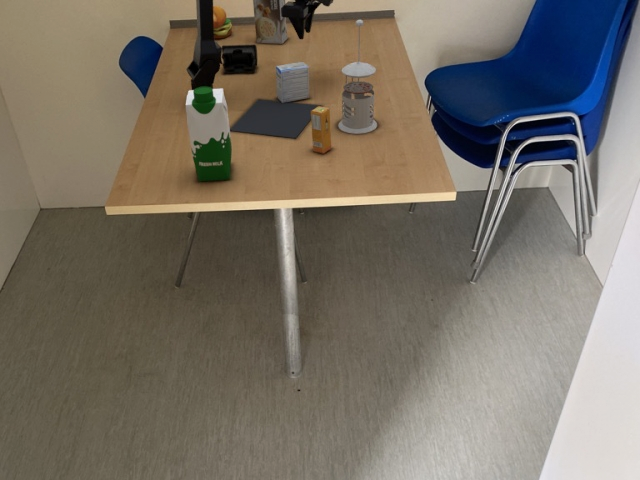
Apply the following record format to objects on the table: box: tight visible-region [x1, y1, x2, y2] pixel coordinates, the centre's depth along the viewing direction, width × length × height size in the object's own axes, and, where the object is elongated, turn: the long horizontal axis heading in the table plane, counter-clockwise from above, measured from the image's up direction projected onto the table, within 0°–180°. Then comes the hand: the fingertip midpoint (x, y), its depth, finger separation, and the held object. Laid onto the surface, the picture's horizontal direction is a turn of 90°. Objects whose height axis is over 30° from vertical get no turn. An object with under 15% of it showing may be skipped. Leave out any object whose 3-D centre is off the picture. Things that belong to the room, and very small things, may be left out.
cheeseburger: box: [213, 5, 233, 39], centre depth 225 cm, size 10×11×10 cm
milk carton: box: [185, 87, 233, 182], centre depth 148 cm, size 9×9×20 cm
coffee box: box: [252, 0, 289, 45], centre depth 215 cm, size 9×6×16 cm
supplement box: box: [310, 106, 332, 155], centre depth 158 cm, size 3×3×10 cm
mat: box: [230, 98, 322, 140], centre depth 176 cm, size 20×18×1 cm
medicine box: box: [275, 61, 310, 103], centre depth 182 cm, size 8×4×9 cm, turn 111°
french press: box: [337, 19, 378, 135], centre depth 162 cm, size 10×12×25 cm
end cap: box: [221, 44, 258, 75], centre depth 201 cm, size 10×7×7 cm
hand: (304, 35), depth 183 cm, fingers open, 5 cm apart
